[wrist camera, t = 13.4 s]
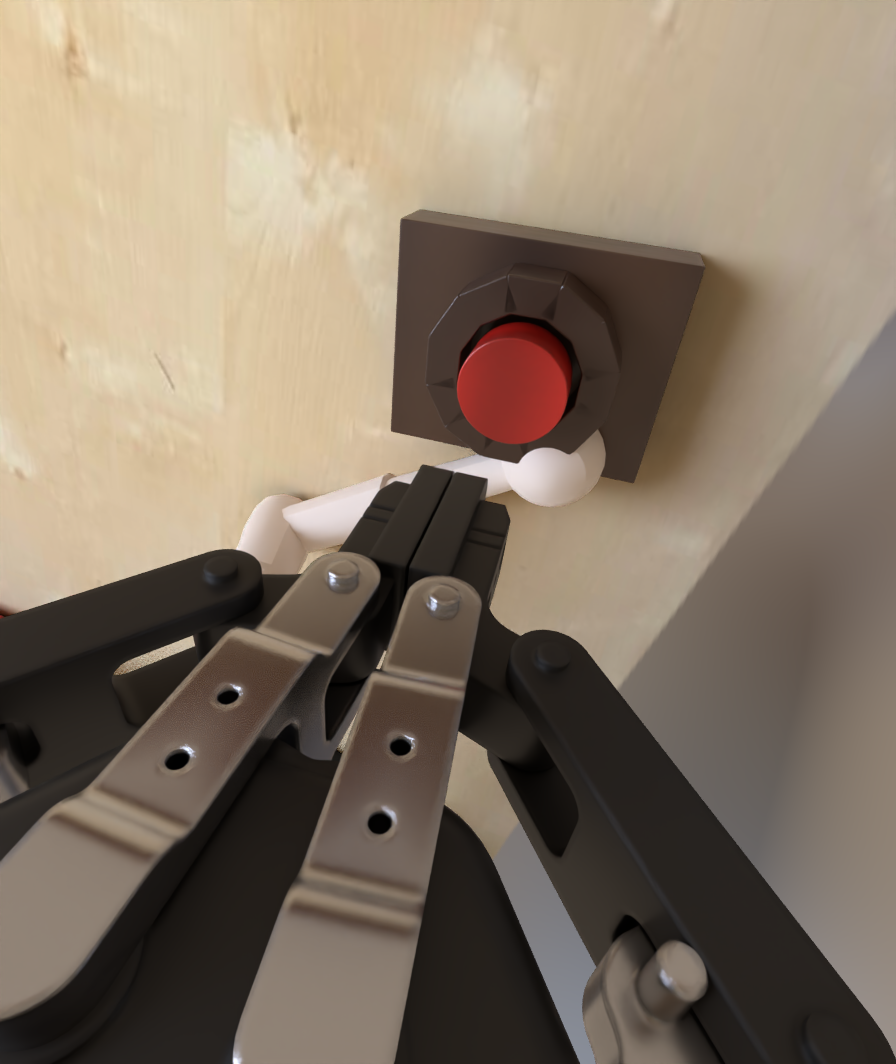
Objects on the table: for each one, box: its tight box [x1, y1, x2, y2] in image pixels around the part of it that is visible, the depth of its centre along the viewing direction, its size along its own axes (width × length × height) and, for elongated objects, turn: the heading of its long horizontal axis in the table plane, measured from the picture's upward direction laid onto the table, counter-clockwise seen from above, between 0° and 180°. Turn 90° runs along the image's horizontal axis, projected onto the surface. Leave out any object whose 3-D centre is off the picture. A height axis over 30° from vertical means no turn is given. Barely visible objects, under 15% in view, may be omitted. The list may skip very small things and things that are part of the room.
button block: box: [391, 210, 705, 483], centre depth 22 cm, size 10×8×4 cm
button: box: [457, 322, 572, 444], centre depth 20 cm, size 4×4×2 cm
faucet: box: [236, 430, 606, 574], centre depth 26 cm, size 4×18×10 cm, turn 116°
